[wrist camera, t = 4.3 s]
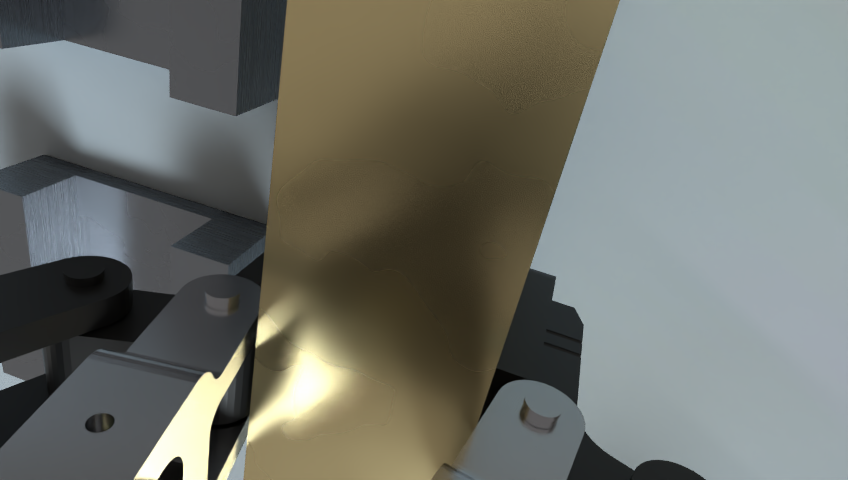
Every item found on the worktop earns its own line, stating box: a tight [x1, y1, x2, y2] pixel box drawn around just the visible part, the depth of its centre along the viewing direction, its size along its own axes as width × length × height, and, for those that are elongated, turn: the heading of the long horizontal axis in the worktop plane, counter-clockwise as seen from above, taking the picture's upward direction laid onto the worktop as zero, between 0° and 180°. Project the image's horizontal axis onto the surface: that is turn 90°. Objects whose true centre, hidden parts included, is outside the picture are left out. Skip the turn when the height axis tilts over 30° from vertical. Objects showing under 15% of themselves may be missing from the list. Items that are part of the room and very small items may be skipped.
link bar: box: [244, 0, 620, 480], centre depth 11 cm, size 3×14×6 cm, turn 169°
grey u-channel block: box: [0, 0, 287, 381], centre depth 16 cm, size 8×18×2 cm, turn 169°
